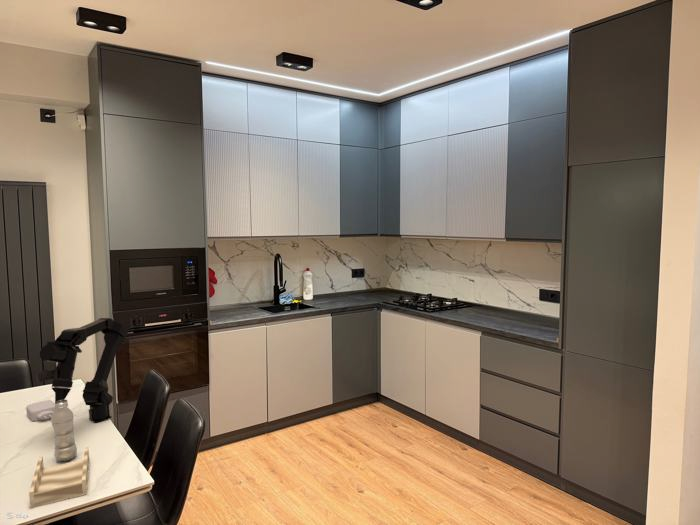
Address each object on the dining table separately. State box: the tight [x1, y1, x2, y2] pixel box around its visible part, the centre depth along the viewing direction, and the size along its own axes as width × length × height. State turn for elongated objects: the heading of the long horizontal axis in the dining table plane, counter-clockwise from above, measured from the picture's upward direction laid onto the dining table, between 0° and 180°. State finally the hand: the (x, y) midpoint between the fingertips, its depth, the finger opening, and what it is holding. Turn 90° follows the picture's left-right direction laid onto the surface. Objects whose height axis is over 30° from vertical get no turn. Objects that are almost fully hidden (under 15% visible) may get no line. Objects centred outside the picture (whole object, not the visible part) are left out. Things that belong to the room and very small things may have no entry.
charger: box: [25, 399, 56, 422], centre depth 203 cm, size 5×9×15 cm
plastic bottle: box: [50, 399, 78, 463], centre depth 167 cm, size 6×7×20 cm
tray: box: [28, 446, 90, 509], centre depth 153 cm, size 23×14×4 cm, turn 26°
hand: (56, 408), depth 178 cm, fingers open, 9 cm apart
